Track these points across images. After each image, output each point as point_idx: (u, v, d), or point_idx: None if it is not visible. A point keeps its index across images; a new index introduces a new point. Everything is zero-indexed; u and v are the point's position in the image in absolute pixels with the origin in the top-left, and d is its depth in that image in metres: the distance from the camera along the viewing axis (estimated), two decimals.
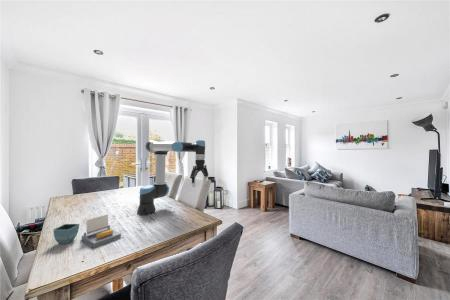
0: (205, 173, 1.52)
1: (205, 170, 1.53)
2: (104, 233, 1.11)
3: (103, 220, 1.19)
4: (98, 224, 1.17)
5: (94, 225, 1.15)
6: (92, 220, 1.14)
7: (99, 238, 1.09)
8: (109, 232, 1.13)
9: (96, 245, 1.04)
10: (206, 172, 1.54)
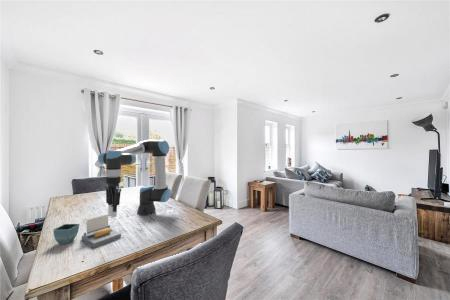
0: (112, 200, 1.05)
1: None
2: None
3: (103, 220, 1.19)
4: (98, 224, 1.17)
5: (94, 225, 1.15)
6: (92, 220, 1.14)
7: (97, 233, 1.10)
8: None
9: (96, 245, 1.04)
10: None
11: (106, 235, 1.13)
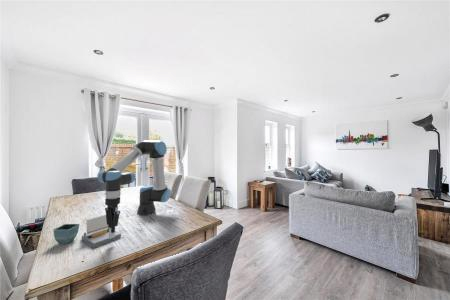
0: (111, 221, 1.06)
1: None
2: None
3: (103, 220, 1.19)
4: (98, 224, 1.17)
5: (94, 225, 1.15)
6: (92, 220, 1.14)
7: (92, 237, 1.13)
8: None
9: (96, 245, 1.04)
10: None
11: (106, 235, 1.13)
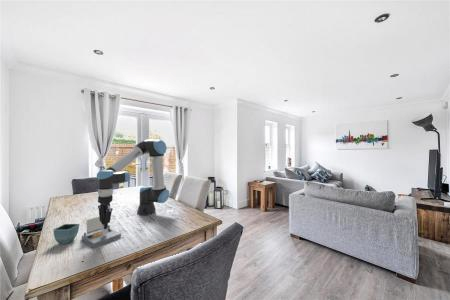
0: (103, 218, 1.11)
1: None
2: None
3: None
4: (98, 224, 1.17)
5: (94, 225, 1.15)
6: (92, 220, 1.14)
7: None
8: None
9: (96, 245, 1.04)
10: (106, 217, 1.10)
11: (106, 235, 1.13)
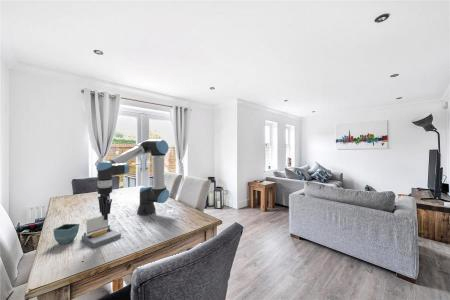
0: (103, 209, 1.11)
1: None
2: (98, 235, 1.14)
3: None
4: (98, 224, 1.17)
5: (94, 225, 1.15)
6: (92, 220, 1.14)
7: (92, 237, 1.13)
8: None
9: (96, 245, 1.04)
10: None
11: (106, 235, 1.13)
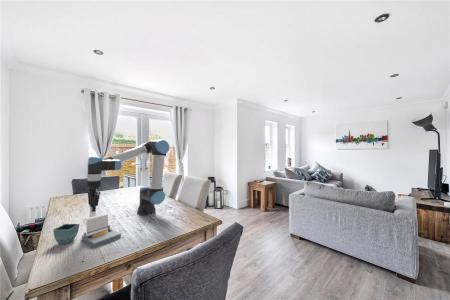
0: (92, 201, 1.18)
1: None
2: None
3: (103, 220, 1.19)
4: (98, 224, 1.17)
5: (94, 225, 1.15)
6: (92, 220, 1.14)
7: None
8: None
9: (96, 245, 1.04)
10: (94, 201, 1.18)
11: (106, 235, 1.13)
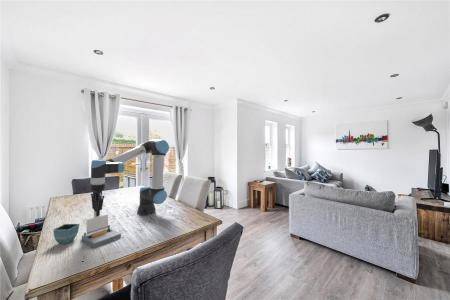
0: (96, 205, 1.16)
1: None
2: None
3: (103, 220, 1.19)
4: (98, 224, 1.17)
5: (94, 225, 1.15)
6: (92, 220, 1.14)
7: (92, 237, 1.13)
8: None
9: (96, 245, 1.04)
10: None
11: (106, 235, 1.13)
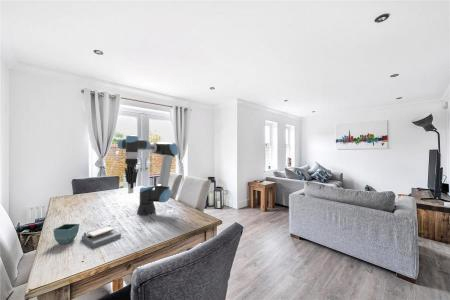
0: (130, 178, 1.22)
1: None
2: None
3: None
4: None
5: None
6: None
7: (92, 237, 1.13)
8: None
9: (96, 245, 1.04)
10: None
11: (106, 235, 1.13)
